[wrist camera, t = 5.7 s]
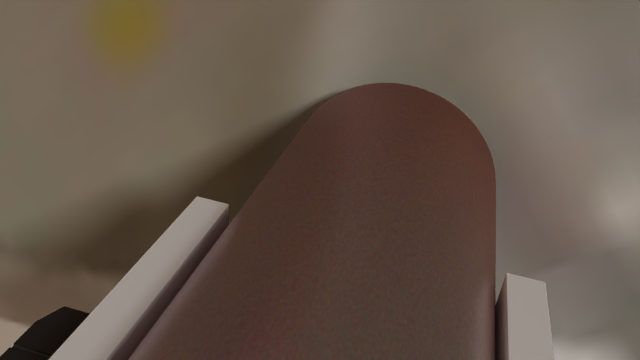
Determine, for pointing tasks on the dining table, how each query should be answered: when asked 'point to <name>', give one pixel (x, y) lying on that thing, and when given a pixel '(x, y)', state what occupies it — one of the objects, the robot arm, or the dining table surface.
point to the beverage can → (352, 244)
